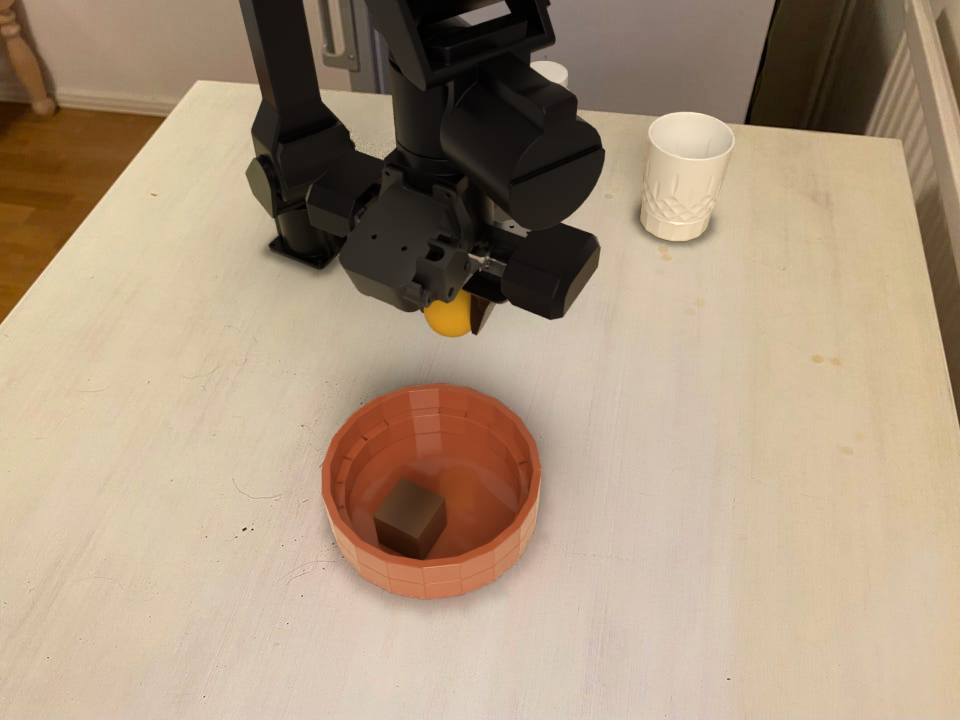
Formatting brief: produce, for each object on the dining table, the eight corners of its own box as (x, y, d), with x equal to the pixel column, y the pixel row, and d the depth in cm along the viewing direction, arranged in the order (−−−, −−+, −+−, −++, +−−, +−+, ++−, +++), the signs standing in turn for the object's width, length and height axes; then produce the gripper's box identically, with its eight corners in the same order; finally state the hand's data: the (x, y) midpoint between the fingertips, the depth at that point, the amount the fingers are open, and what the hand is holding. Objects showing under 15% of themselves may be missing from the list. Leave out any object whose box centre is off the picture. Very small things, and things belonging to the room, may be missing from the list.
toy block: (378, 542, 58) (372, 516, 55) (405, 503, 60) (401, 476, 57) (421, 564, 57) (417, 538, 54) (447, 524, 59) (445, 497, 56)
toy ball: (414, 336, 58) (411, 296, 55) (443, 301, 60) (441, 261, 57) (462, 356, 57) (462, 317, 54) (490, 320, 59) (491, 281, 56)
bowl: (289, 541, 58) (276, 504, 55) (403, 397, 67) (398, 356, 63) (474, 641, 53) (473, 608, 50) (571, 471, 62) (576, 432, 58)
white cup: (712, 250, 79) (735, 164, 71) (630, 240, 80) (645, 154, 73) (713, 201, 84) (735, 115, 77) (636, 192, 85) (651, 107, 78)
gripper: (223, 155, 44) (277, 345, 56) (525, 270, 38) (515, 456, 50) (343, 64, 51) (368, 252, 63) (618, 150, 45) (589, 340, 57)
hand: (452, 320), depth 58 cm, fingers closed on toy ball, 4 cm apart
